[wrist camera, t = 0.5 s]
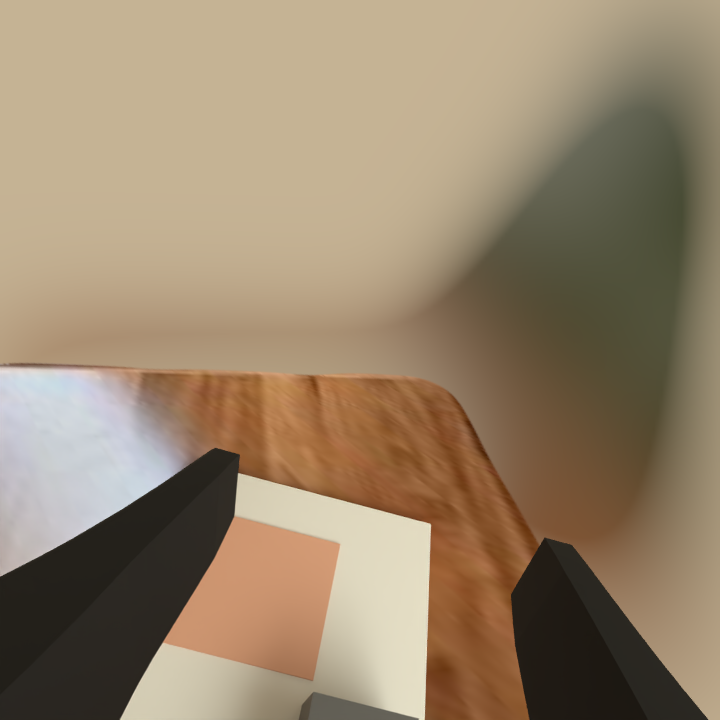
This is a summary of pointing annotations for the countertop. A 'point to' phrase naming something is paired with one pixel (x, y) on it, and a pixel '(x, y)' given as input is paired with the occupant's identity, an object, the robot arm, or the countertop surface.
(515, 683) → the countertop surface
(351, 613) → the cream mat
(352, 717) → the domino block
